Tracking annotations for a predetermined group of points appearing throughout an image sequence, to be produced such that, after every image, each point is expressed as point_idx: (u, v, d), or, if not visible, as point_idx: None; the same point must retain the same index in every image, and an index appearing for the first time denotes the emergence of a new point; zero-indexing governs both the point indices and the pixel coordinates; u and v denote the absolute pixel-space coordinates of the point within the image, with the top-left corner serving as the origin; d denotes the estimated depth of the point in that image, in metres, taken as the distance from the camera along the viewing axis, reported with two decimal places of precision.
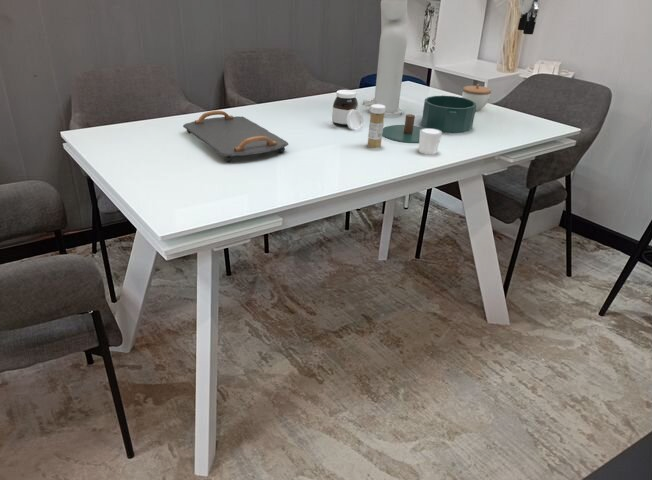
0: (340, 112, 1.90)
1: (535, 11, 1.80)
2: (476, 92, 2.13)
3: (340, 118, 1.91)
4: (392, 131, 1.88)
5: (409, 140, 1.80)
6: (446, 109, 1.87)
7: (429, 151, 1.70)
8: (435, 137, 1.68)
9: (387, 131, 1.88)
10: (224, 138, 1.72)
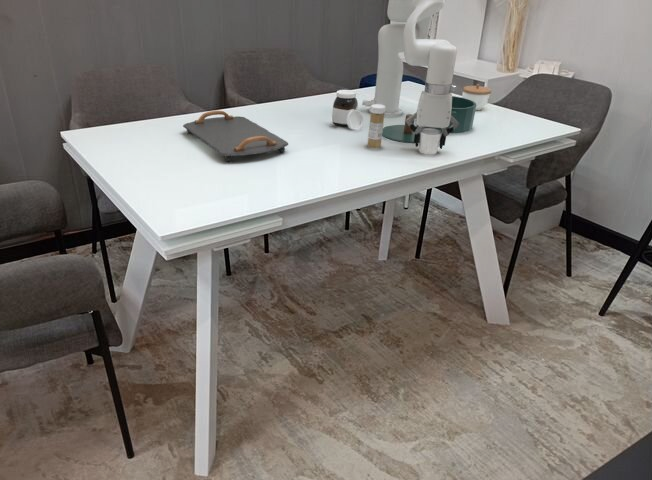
0: (340, 112, 1.90)
1: (407, 122, 1.70)
2: (476, 92, 2.13)
3: (340, 118, 1.91)
4: (392, 131, 1.88)
5: (409, 140, 1.80)
6: None
7: (429, 150, 1.70)
8: (435, 137, 1.68)
9: (387, 131, 1.88)
10: (224, 138, 1.72)
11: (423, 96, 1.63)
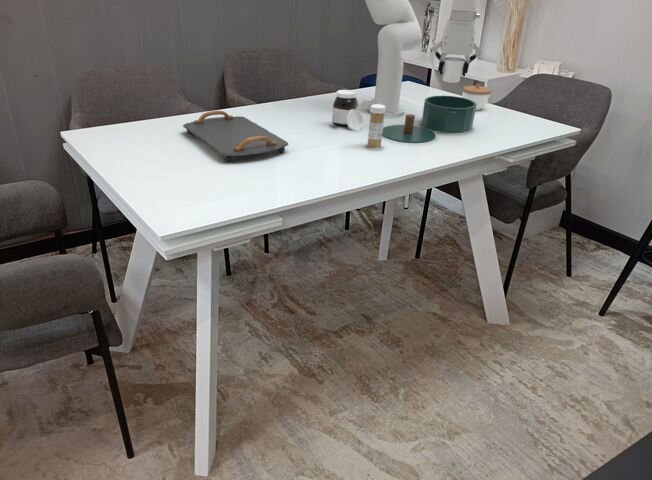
0: (340, 112, 1.90)
1: (432, 50, 1.82)
2: (476, 92, 2.13)
3: (340, 118, 1.91)
4: (392, 131, 1.88)
5: (409, 140, 1.80)
6: (446, 109, 1.87)
7: (453, 77, 1.82)
8: (459, 64, 1.80)
9: (387, 131, 1.88)
10: (224, 138, 1.72)
11: (449, 23, 1.75)
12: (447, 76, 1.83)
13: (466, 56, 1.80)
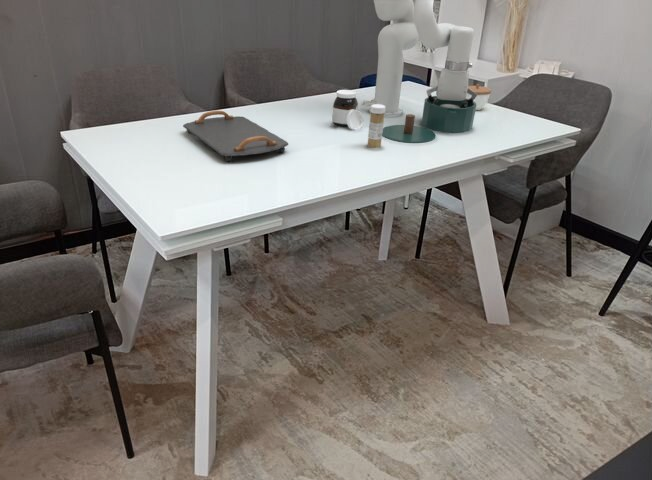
0: (340, 112, 1.90)
1: None
2: (476, 92, 2.13)
3: (340, 118, 1.91)
4: (392, 131, 1.88)
5: (409, 140, 1.80)
6: (446, 109, 1.87)
7: None
8: None
9: (387, 131, 1.88)
10: (224, 138, 1.72)
11: (443, 72, 1.87)
12: None
13: (462, 100, 1.91)
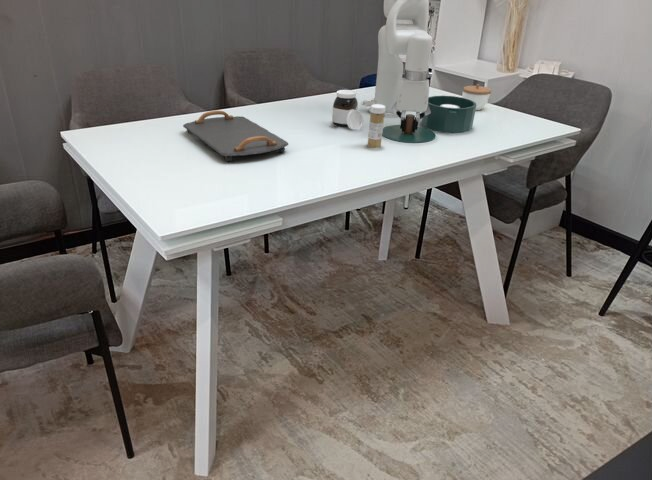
0: (340, 112, 1.90)
1: None
2: (476, 92, 2.13)
3: (340, 118, 1.91)
4: (392, 131, 1.88)
5: (409, 140, 1.80)
6: (446, 109, 1.87)
7: None
8: None
9: (387, 131, 1.88)
10: (224, 138, 1.72)
11: (402, 82, 1.78)
12: None
13: (417, 113, 1.82)
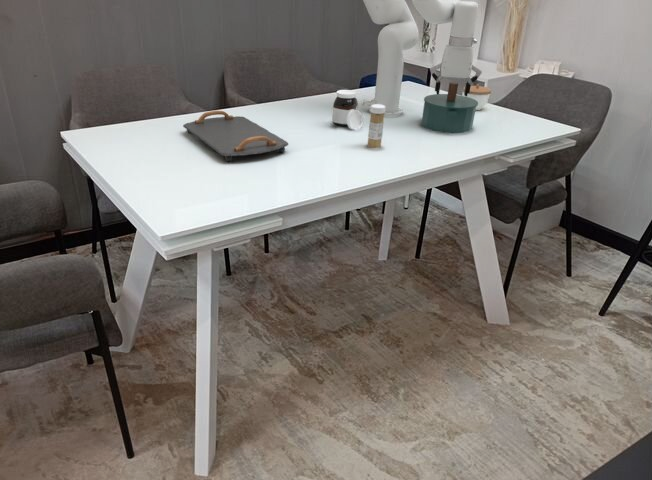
0: (340, 112, 1.90)
1: None
2: (476, 92, 2.13)
3: (340, 118, 1.91)
4: (435, 99, 1.94)
5: (453, 106, 1.86)
6: (446, 109, 1.87)
7: None
8: None
9: (430, 99, 1.94)
10: (224, 138, 1.72)
11: (447, 49, 1.83)
12: None
13: (467, 78, 1.87)
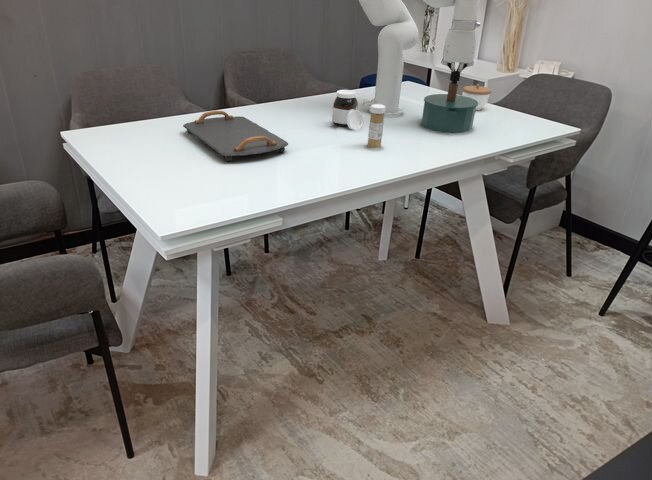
0: (340, 112, 1.90)
1: None
2: (476, 92, 2.13)
3: (340, 118, 1.91)
4: (435, 99, 1.94)
5: (453, 106, 1.86)
6: (446, 109, 1.87)
7: None
8: None
9: (430, 99, 1.94)
10: (224, 138, 1.72)
11: (450, 32, 1.81)
12: None
13: (461, 64, 1.85)
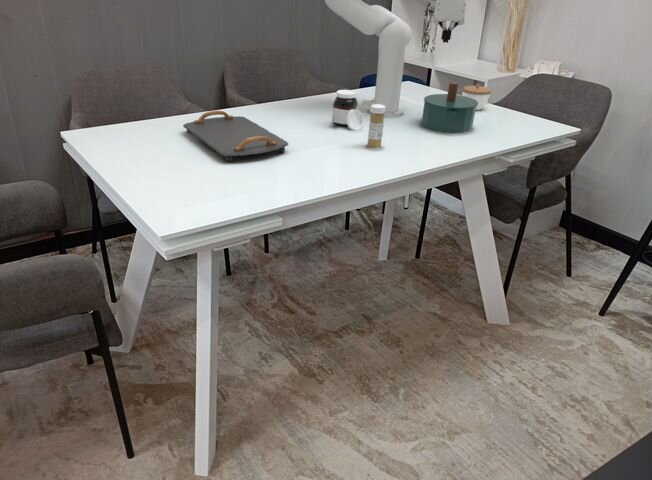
0: (340, 112, 1.90)
1: None
2: (476, 92, 2.13)
3: (340, 118, 1.91)
4: (435, 99, 1.94)
5: (453, 106, 1.86)
6: (446, 109, 1.87)
7: None
8: None
9: (430, 99, 1.94)
10: (224, 138, 1.72)
11: None
12: None
13: (452, 22, 1.88)
